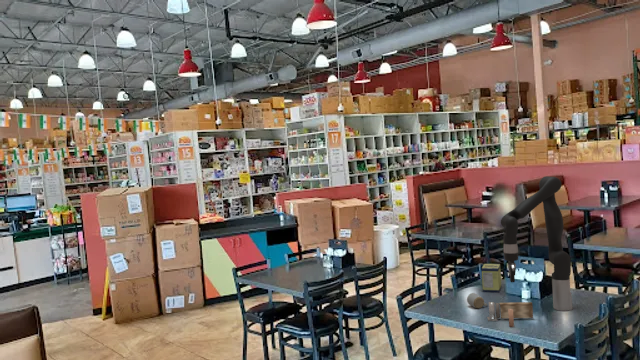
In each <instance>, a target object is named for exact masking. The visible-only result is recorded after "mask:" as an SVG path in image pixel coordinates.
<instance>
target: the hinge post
mask: <svg viewBox="0 0 640 360" xmlns="http://www.w3.org/2000/svg"><path fill="white" fill-rule="evenodd" d="M488 315H489V316H487V317H486V318H487V321H488V322H498V321H499V318H496V305H495V302H494V301H488Z"/></svg>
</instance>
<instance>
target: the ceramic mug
mask: <svg viewBox="0 0 640 360" xmlns="http://www.w3.org/2000/svg"><path fill="white" fill-rule="evenodd" d="M466 303H467V304H468V305H469V306H471V307H473V308H474V309H481V308H483V307H487V306H488V303H486V302H485V300H484V298H483V297H482V296H481V295H478V293H475V292H472V293H470V294H468V296H467V299H466Z"/></svg>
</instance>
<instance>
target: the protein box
mask: <svg viewBox="0 0 640 360" xmlns="http://www.w3.org/2000/svg"><path fill="white" fill-rule="evenodd" d="M482 265H483V266H482V267H481V282H482V283H481V284H482V292H483V293H500V291H501V289H502V287H503V286H502V272H501V264H500V263H483V264H482Z"/></svg>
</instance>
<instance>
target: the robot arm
mask: <svg viewBox="0 0 640 360" xmlns="http://www.w3.org/2000/svg"><path fill="white" fill-rule="evenodd" d="M538 187H539V190H538V191H537V192H535V193H534V194H532V195H531V196H529V197H527V198H525V199H524V200H523V201H521V202H520V203H519V204H518V205H517V206H516V207H515V208H513V209H511V210H510V211H509V212H507V213H505V214H504V215H503V217H502V218H501V219H500V225H501V226H502V227H503V228H505V233H503V259H504V261H507V264H506V265H507V270H508V274H509V282H510V283H515V282H516V281H515V280H516V279H515V276H516V270H517V264H516V261H518V260H519V247H518V239H517V235H518V229H519V222H518V221H519V220H520V219H525V217H527V216H528V215H529V214H530V213H532V211H534V210H535V208H537V207H538V206H539V205H541V203H542V206H543V214H544V221H545V223H544V224H545V230H546V236H547V243H548V246H547V247H548V259H549V260H548V261H549V262H550V263H551V264H552V265H553V272H552V273H551V285H552V286H551V287H552V302H553V303H552V306H553V309H554V310H556V311H562V312H565V311H566V312H567V311H572V310H573V295H572V292H571V280H570V279H571V278H570V277H571V273H572V272H571V271H572V267H571V266H572V265H571V263H572V262H571V256H570V255H569V254H568V253H567V252H566V251H565V250H564V249H563V243H562V237H563V233H564V225H565V224H564V218H563V214H562V211H561V209H560V207H559V205H558V203H557V200H556V195H555V194H557V193H558V192H559V191H561V189H562V188H561V187H562V181H561V179H559V178H558V177H556V176H548V175H547V176H543V177H541V179H540V180H539V183H538Z"/></svg>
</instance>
